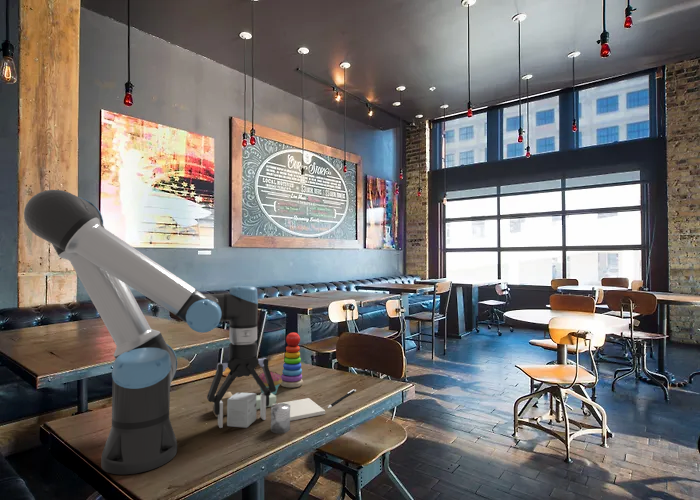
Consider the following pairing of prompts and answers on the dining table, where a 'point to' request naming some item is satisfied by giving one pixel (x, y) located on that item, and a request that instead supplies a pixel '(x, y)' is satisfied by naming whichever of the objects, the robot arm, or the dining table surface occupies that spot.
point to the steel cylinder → (280, 418)
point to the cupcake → (276, 379)
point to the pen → (341, 398)
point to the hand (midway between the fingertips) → (242, 421)
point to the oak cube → (224, 403)
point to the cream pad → (304, 409)
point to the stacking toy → (292, 363)
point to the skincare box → (241, 409)
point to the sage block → (271, 400)
